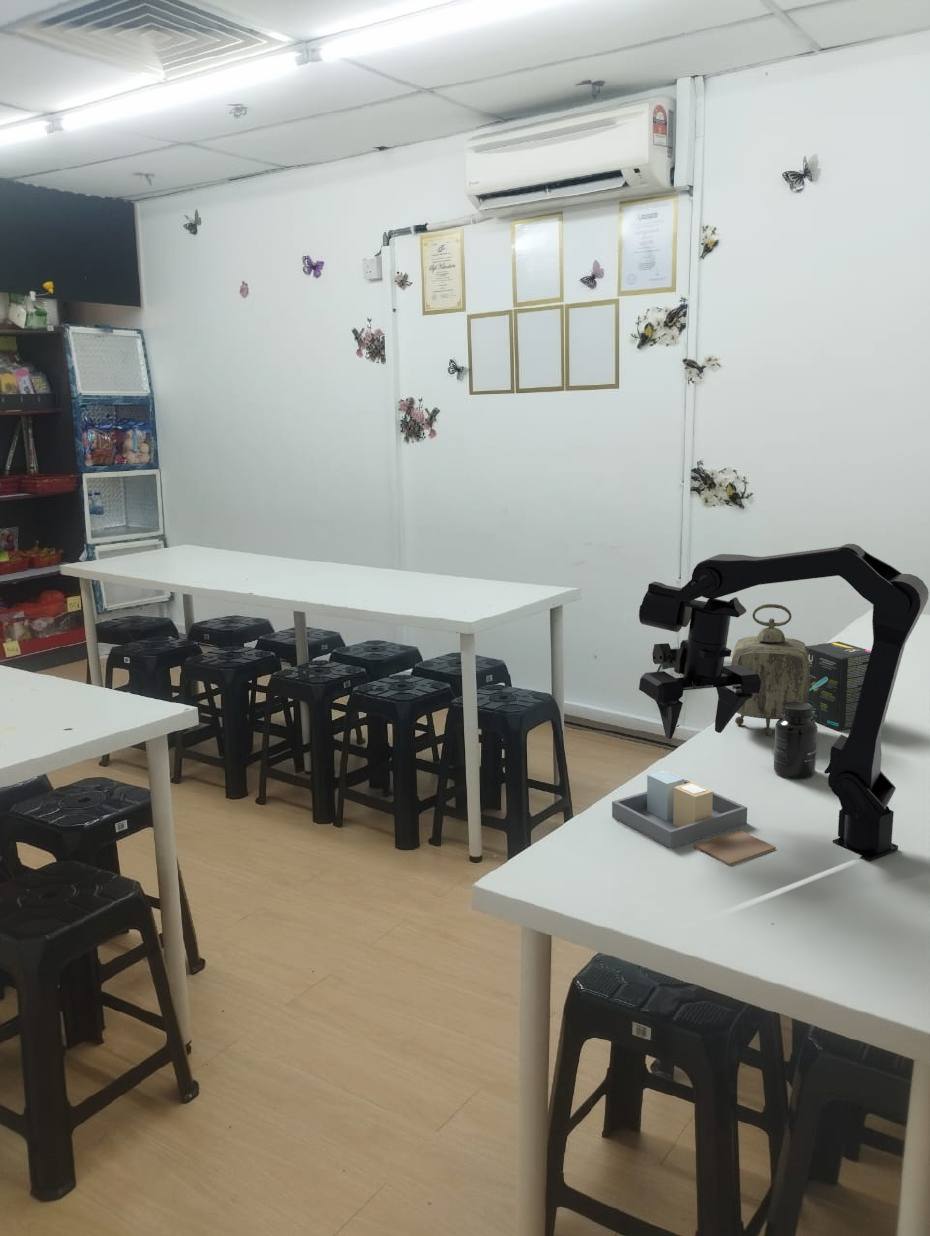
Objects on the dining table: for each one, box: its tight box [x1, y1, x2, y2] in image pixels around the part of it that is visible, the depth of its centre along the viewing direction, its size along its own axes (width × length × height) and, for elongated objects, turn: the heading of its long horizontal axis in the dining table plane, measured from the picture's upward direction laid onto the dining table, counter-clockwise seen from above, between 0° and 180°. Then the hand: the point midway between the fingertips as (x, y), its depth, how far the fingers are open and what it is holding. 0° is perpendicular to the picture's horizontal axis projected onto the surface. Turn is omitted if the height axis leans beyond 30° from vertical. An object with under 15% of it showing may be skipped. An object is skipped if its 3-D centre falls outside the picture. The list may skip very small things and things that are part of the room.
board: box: [693, 829, 777, 867], centre depth 139 cm, size 7×9×1 cm
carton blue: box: [646, 769, 685, 821], centre depth 150 cm, size 4×4×6 cm
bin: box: [611, 779, 748, 850], centre depth 148 cm, size 13×15×3 cm
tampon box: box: [805, 641, 871, 731], centre depth 190 cm, size 11×9×15 cm
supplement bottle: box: [773, 702, 818, 780], centre depth 165 cm, size 7×7×12 cm
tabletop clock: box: [730, 603, 810, 736], centre depth 184 cm, size 14×9×25 cm, turn 72°
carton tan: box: [673, 781, 714, 827], centre depth 145 cm, size 4×4×6 cm
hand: (693, 734), depth 149 cm, fingers open, 9 cm apart
